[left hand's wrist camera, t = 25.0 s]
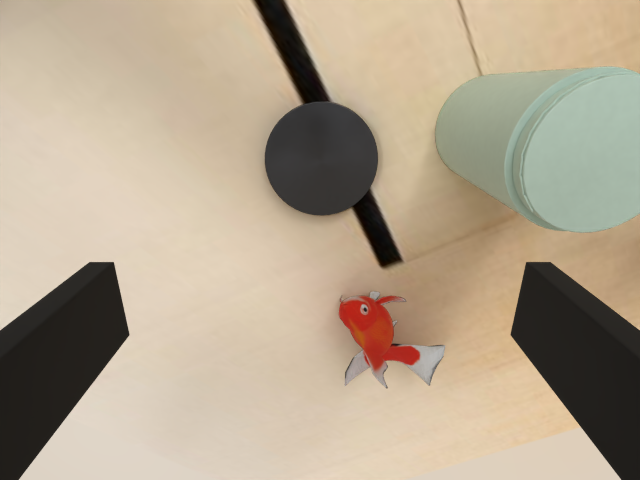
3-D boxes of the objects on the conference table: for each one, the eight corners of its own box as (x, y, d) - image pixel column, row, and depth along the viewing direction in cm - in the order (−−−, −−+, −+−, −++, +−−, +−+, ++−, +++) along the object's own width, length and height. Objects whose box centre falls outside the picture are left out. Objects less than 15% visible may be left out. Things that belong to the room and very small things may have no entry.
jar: (510, 51, 34) (663, 22, 19) (553, 141, 37) (716, 179, 22) (416, 116, 36) (486, 138, 21) (464, 197, 39) (555, 268, 24)
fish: (434, 257, 37) (434, 360, 30) (450, 333, 48) (452, 419, 42) (327, 263, 41) (308, 355, 34) (365, 332, 52) (356, 410, 46)
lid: (278, 217, 40) (276, 222, 38) (256, 110, 36) (253, 111, 35) (380, 202, 39) (382, 207, 38) (369, 92, 36) (371, 92, 34)
